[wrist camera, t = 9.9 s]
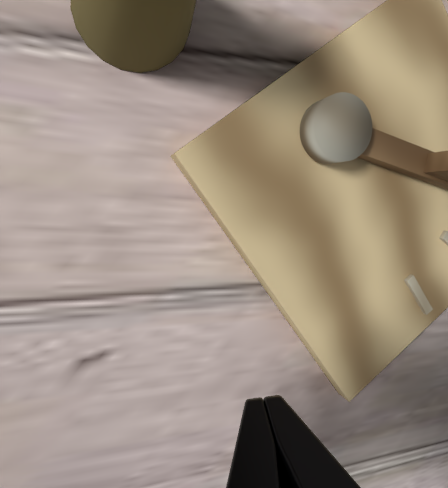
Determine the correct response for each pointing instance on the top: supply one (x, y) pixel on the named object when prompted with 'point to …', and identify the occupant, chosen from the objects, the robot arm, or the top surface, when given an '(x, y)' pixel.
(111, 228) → the top surface
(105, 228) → the top surface
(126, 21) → the olive pawn
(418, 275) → the wooden board
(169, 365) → the top surface
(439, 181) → the peg
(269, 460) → the robot arm
